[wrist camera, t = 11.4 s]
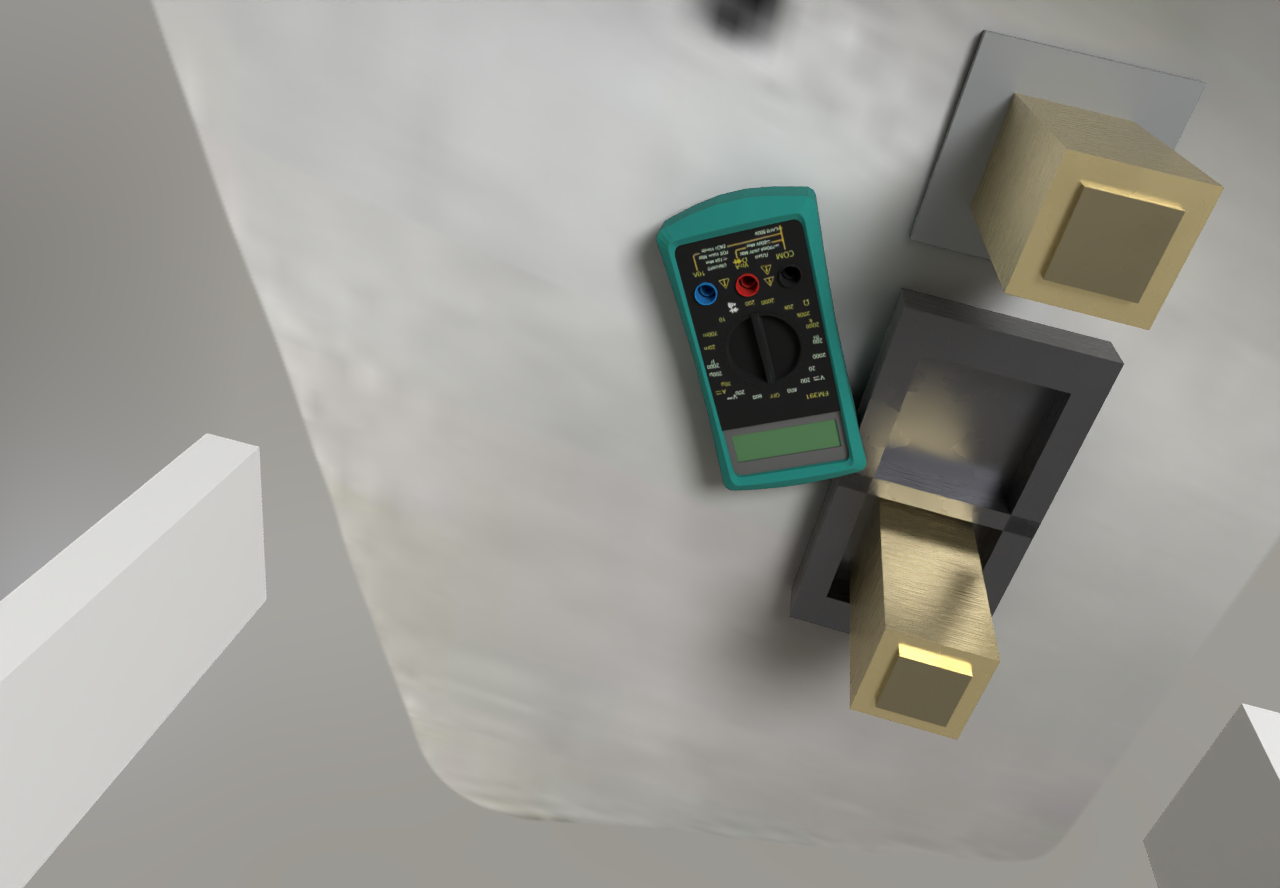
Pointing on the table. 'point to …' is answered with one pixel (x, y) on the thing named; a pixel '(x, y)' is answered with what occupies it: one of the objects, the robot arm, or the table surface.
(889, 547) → the gold rectangular block
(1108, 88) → the mat
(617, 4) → the table surface
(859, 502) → the dark grey block holder
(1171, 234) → the tan rectangular block
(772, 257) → the digital multimeter
